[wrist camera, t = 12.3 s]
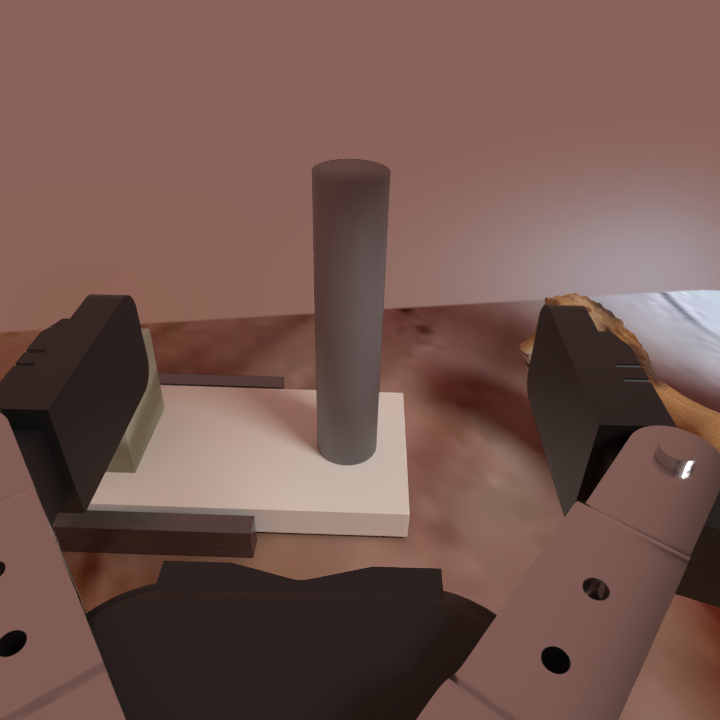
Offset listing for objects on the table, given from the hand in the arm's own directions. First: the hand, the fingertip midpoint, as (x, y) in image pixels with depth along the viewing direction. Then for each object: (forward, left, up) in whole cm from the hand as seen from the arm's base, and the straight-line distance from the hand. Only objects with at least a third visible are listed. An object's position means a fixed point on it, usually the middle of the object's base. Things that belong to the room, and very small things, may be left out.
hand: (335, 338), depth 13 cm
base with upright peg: (+7, -13, -16) cm, 22 cm away
